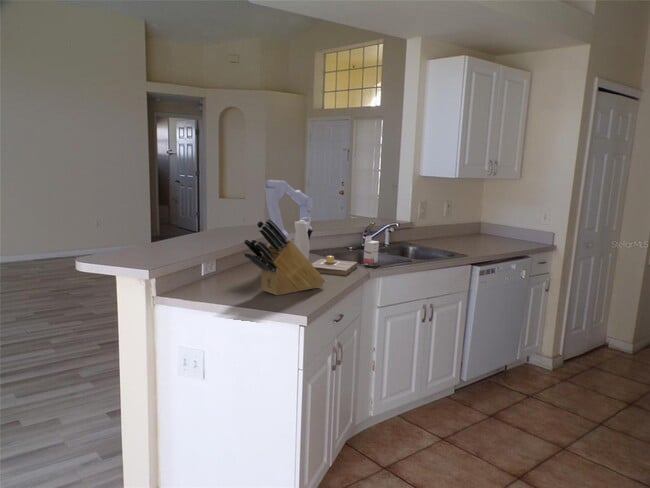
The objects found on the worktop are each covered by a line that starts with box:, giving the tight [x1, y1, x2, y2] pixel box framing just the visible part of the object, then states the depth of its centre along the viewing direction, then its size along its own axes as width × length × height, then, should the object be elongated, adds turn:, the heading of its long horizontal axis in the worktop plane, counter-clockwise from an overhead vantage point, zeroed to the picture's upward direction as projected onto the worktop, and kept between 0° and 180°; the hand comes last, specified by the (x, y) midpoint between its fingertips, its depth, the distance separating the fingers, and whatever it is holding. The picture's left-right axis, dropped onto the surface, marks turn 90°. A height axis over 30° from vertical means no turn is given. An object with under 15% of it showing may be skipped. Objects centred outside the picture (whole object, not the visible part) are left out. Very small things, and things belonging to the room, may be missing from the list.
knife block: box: [243, 218, 326, 297], centre depth 204 cm, size 11×35×31 cm, turn 132°
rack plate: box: [311, 258, 358, 277], centre depth 252 cm, size 22×20×3 cm
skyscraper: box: [293, 216, 312, 260], centre depth 231 cm, size 8×8×28 cm
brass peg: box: [325, 255, 335, 264], centre depth 254 cm, size 4×4×6 cm
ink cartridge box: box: [363, 235, 380, 265], centre depth 272 cm, size 9×5×15 cm, turn 149°
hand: (304, 244), depth 268 cm, fingers open, 7 cm apart
